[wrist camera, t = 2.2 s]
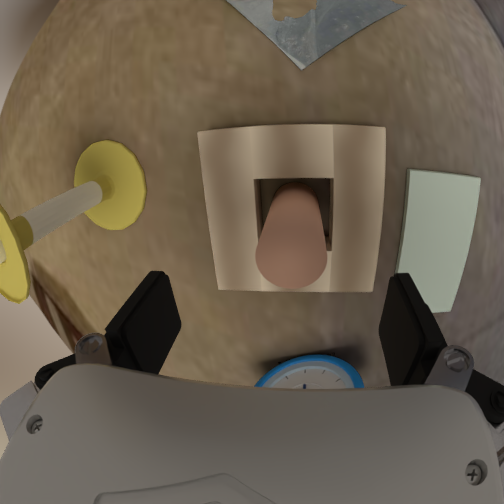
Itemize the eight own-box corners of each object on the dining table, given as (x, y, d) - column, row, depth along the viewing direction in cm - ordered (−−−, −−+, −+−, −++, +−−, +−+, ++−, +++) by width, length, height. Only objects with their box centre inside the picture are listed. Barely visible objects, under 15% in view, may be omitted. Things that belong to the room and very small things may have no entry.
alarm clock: (357, 341, 30) (370, 459, 17) (363, 372, 32) (372, 476, 19) (253, 360, 34) (228, 467, 21) (269, 388, 36) (251, 484, 23)
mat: (476, 176, 20) (480, 178, 19) (447, 307, 26) (450, 311, 26) (407, 168, 21) (410, 170, 20) (387, 310, 28) (388, 314, 27)
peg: (318, 182, 23) (328, 224, 14) (318, 225, 25) (325, 289, 16) (271, 182, 24) (252, 224, 15) (273, 225, 26) (257, 288, 17)
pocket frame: (375, 126, 20) (385, 127, 17) (366, 274, 26) (372, 291, 24) (209, 130, 23) (197, 132, 20) (226, 273, 29) (218, 289, 26)
